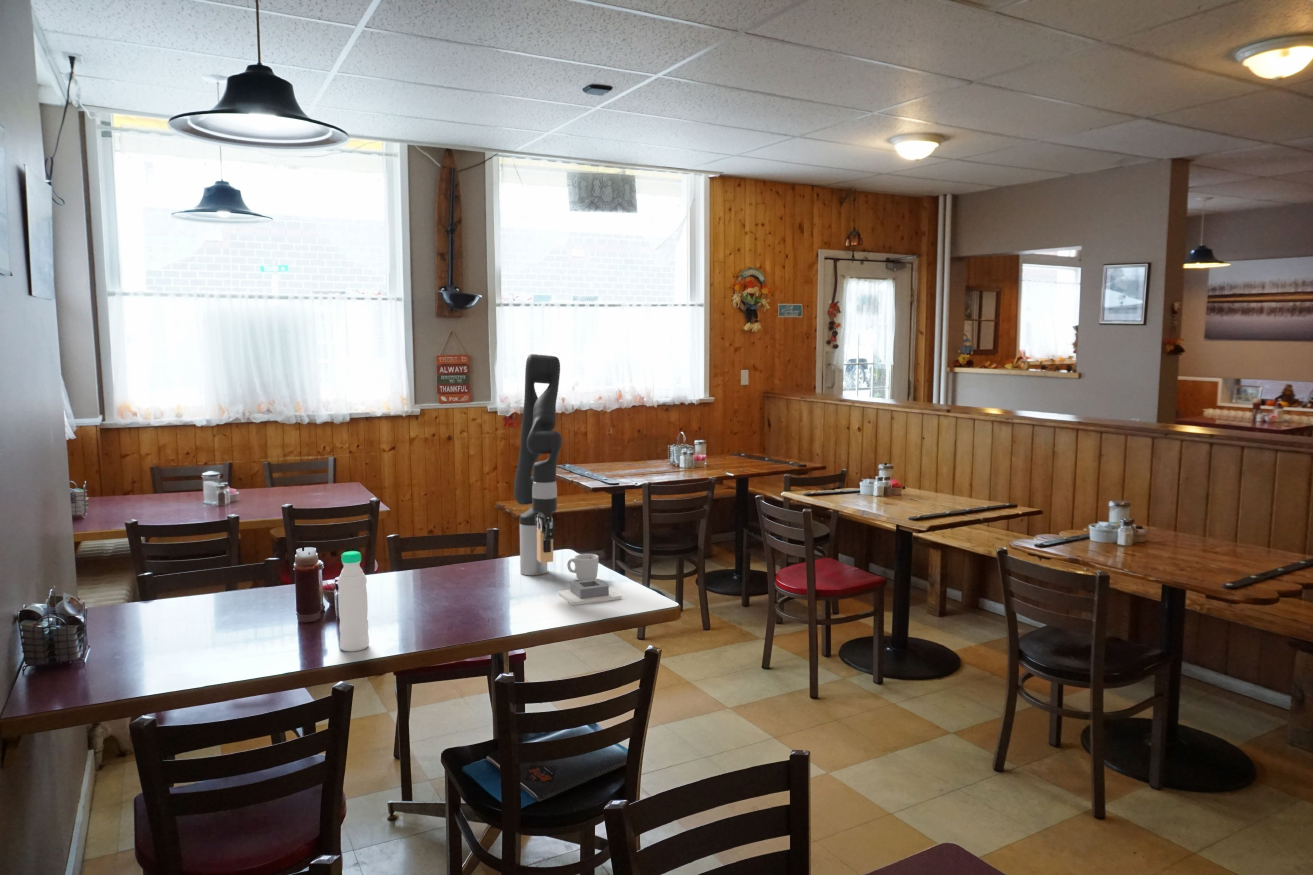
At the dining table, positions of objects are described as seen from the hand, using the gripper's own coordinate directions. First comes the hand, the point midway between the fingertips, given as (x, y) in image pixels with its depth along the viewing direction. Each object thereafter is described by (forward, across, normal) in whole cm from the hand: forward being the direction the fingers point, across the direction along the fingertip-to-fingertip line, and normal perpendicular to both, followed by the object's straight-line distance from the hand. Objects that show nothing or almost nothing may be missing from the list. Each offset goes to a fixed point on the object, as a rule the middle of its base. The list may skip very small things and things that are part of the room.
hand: (544, 550), depth 268 cm
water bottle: (+15, -24, +58) cm, 65 cm away
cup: (+15, +14, -17) cm, 27 cm away
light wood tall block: (+3, 0, 0) cm, 3 cm away
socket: (+15, -6, -12) cm, 20 cm away
